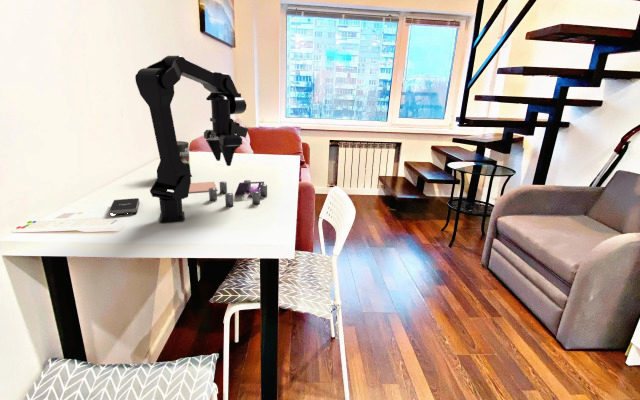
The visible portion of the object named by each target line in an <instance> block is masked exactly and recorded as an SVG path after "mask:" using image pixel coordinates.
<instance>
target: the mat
mask: <svg viewBox="0 0 640 400" xmlns="http://www.w3.org/2000/svg"><path fill="white" fill-rule="evenodd" d="M209 188H216V190H217V192H218V188H217V186H216V183H215V181H209V182H208V181H203V182H191V184H190V189H189V194H196V193H197V194H198V193H209Z"/></svg>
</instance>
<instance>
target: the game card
mask: <svg viewBox="0 0 640 400" xmlns="http://www.w3.org/2000/svg"><path fill="white" fill-rule="evenodd" d="M248 184H254V185H255V184H258V185H257V186H253V185H252V186H251V188H250V191H247V192H245V191H246V189H247V187H248ZM260 185H265V181H251V182H244V181H243V182H239V183H238V185H237V188H236V191H235V193H234V195H235V196H236V195H237V194H238V195H243V194H244V195H245V193H246V194H248V196H251V197H252V192H253V191H259V192H260Z"/></svg>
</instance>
